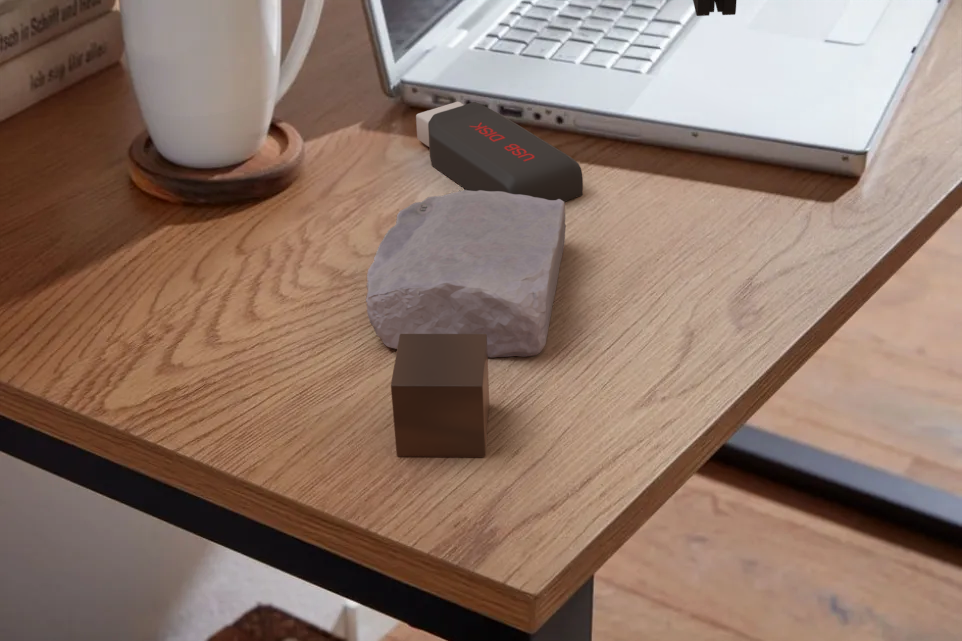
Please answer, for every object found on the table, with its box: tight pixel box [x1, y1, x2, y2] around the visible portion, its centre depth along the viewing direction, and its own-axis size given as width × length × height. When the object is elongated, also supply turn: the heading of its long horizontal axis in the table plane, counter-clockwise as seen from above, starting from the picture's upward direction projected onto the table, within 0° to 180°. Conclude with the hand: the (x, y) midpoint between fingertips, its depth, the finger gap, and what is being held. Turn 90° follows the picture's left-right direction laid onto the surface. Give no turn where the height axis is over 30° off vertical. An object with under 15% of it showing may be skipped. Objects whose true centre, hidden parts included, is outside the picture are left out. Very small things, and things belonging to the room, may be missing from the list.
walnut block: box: [390, 334, 490, 458], centre depth 60 cm, size 4×4×4 cm
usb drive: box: [415, 101, 584, 202], centre depth 82 cm, size 5×12×3 cm, turn 34°
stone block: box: [365, 189, 566, 358], centre depth 70 cm, size 12×5×10 cm
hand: (712, 2), depth 56 cm, fingers closed
